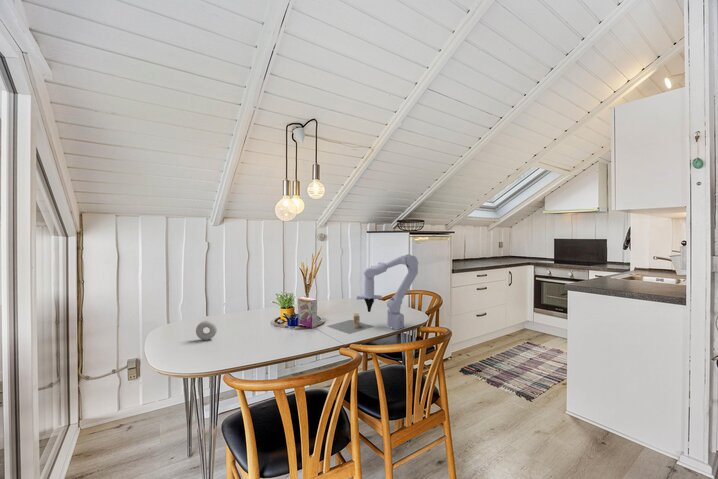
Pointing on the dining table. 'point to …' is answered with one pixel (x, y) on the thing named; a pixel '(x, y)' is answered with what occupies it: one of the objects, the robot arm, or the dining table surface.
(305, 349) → the dining table surface
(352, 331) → the rubber mat
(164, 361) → the dining table surface
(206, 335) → the donut
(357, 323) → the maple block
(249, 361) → the dining table surface
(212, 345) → the dining table surface
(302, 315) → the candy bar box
